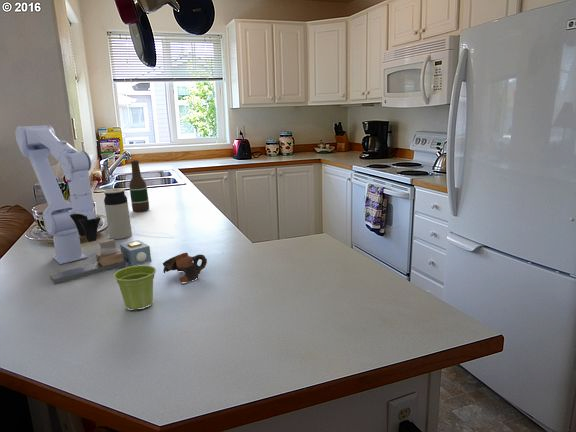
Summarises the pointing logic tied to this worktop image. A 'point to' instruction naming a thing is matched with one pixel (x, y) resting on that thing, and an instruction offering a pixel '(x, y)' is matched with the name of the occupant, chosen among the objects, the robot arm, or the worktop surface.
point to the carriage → (108, 253)
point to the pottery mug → (185, 266)
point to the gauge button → (134, 244)
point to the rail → (83, 271)
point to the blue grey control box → (136, 253)
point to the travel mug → (117, 213)
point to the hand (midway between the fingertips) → (88, 238)
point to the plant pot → (136, 285)
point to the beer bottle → (138, 189)
